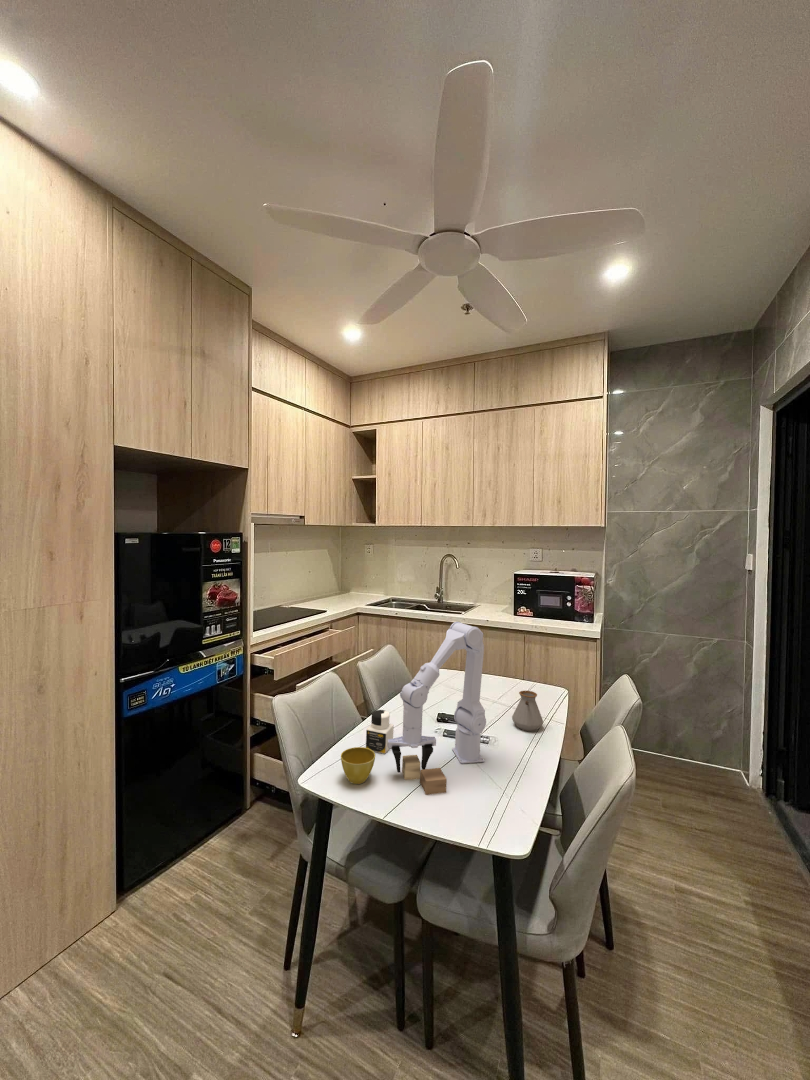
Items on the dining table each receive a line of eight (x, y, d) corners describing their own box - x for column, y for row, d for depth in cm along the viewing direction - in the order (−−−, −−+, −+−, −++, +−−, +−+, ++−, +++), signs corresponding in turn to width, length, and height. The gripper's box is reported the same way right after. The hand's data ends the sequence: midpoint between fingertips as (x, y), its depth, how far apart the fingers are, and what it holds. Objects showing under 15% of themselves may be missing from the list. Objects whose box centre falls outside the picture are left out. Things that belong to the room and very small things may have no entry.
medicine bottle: (365, 750, 146) (366, 714, 146) (374, 740, 152) (375, 706, 152) (385, 754, 143) (386, 718, 143) (393, 744, 150) (394, 710, 150)
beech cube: (402, 771, 133) (402, 755, 133) (416, 770, 134) (417, 754, 134) (404, 780, 129) (405, 763, 129) (419, 779, 130) (420, 762, 130)
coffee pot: (513, 718, 175) (514, 681, 175) (543, 723, 171) (544, 685, 171) (507, 742, 155) (509, 699, 155) (541, 748, 151) (543, 705, 151)
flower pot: (357, 766, 136) (358, 743, 135) (381, 778, 129) (382, 754, 129) (332, 779, 128) (333, 755, 128) (357, 793, 121) (357, 768, 121)
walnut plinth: (419, 783, 128) (420, 769, 128) (439, 781, 129) (440, 767, 129) (425, 795, 122) (426, 781, 122) (446, 793, 123) (446, 779, 123)
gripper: (390, 732, 126) (389, 778, 126) (439, 729, 129) (437, 775, 129) (387, 721, 133) (385, 766, 133) (433, 719, 136) (431, 762, 136)
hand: (410, 769), depth 132 cm, fingers open, 7 cm apart
